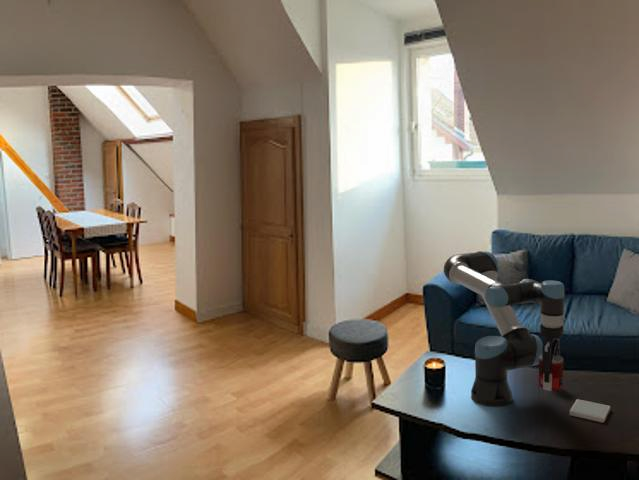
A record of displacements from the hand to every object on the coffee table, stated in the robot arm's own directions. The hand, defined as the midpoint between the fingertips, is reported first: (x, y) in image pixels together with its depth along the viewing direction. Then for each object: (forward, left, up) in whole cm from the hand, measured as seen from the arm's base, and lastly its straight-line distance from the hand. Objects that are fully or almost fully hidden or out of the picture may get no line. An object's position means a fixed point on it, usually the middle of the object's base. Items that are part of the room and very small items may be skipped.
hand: (550, 385), depth 195 cm
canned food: (0, 0, -1) cm, 1 cm away
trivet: (+12, +6, -10) cm, 16 cm away
